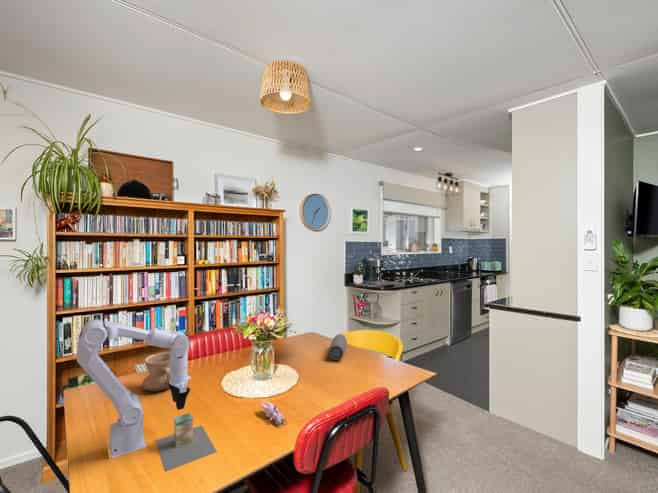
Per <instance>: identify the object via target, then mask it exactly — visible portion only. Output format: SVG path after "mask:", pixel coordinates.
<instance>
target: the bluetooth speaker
mask: <svg viewBox="0 0 658 493" xmlns="http://www.w3.org/2000/svg"><path fill="white" fill-rule="evenodd" d="M347 343H348V342H347V337H346V336H345V335H344V334H342V333H341V334H340V333H338V334H337V335H335V336H334V337H333V339H332V341H331V343H330V346H329V350H328V353H329V354H328V355H329V357H330V358H331V359H332V360H336V361H337V360H340V359H341V358H342V357H343V356H344V354H345V352H346V350H347Z"/></svg>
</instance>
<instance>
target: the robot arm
mask: <svg viewBox="0 0 658 493" xmlns="http://www.w3.org/2000/svg"><path fill="white" fill-rule="evenodd" d="M119 337H121V338H129V339H134V340H139V341H141V340H142V341H145V343H146V344H147V345H149V346H153V347H158V348H164V349H170V352H169V353H170V380H169V382H168V385H169V387H170V388H169V389H170V394H171V398H172V402H173V403H175V407H176V410H177V411H180V410H183V409H184V408H185V406H186V401H187V398H188V396H189V393H190V391H191V388H190V387H187V384H188V382H189V381H190V380H192V376H190V375H188V356H189V355H188V354H189V353H188V348H189V347H190V344H191V343H190V339H189V338H188V336H186V334H185V333H183V332H182V331H178V330H177V331H176V330H173V331H171V330H167V329H164V327H161V326H158V328H157V327H152V329H144V328H140V327H135V326H132V325H128V324H124V323H120V322H116V321H111V320H101V319H95V318H94V319H91V320H89V321H87V322H85V324H84V325H83V326H82V328H81V331H80V332H79V336H78V339H77V350H76V351H77V352H76V362H77V364H79V366H81V368H82V369H83V370H84V371H85V372H86V374H87V375H88V376H89V377H90V378H91V380H93V382H94V383H95V384H96V385H97V386H98V388H99V389H100V390H101V392H103V394H104V395H105V396H106V397H107V398H108V399H109V401H111V402H112V404H113V406H114V408H115V411H116V412H118V413H117V414H119V417H118V419H117V421H116V422H114V423H112V424H110V425H109V443H108V450H109V455H110V459H115V458H116V457H120V456H123V455H126V454H129V453H132V452H136V451H138V450H141V449H145V448H146V440H145V437H144V408H143V406H142V403H141V398H140V396H139V395H138V394H135V393H133V392H132V391H130V390H129V388H126V387H125V385H124V384H123V383H122V381H120V380H119V379H118V377H117V376H116V375H115V373H114V372H113V371H112V370H111V369H110V367H109V366H108V365H107V364H106V363H105V362H104V360H103V358H101V356H100V355H99V353H98V352H99V350H100V347H101V346H102V345H103V344H104V342H105V341H106V339H107V340H108V341H111V340H114V339H116V338H119Z"/></svg>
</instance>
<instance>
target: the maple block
mask: <svg viewBox="0 0 658 493" xmlns="http://www.w3.org/2000/svg"><path fill="white" fill-rule="evenodd" d="M173 422H174V423H173V434H174V442H175V444H176V447H179V446H181V445H184V444H187V443H190V442H193V428H194V417H193V415H192V413H191V412H188V413H185V414H181V415H178V416H174V417H173Z"/></svg>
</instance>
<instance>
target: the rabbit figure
mask: <svg viewBox="0 0 658 493" xmlns="http://www.w3.org/2000/svg"><path fill="white" fill-rule="evenodd" d="M260 404H261V405H260V406H261V407H262V409H263V411H265V415H266V417H268V418H270V419H269V420H270V421H272V420H273V419H274V421H275V424H276V425H278V426H279V427H282V426H283V424H284V423H285V425H288V420H287V419H286V418H285V417H284V415H285V413H284V412H283V413H281V412H279V409H278V406H277V405H274V404H273V403H271V402H270V401H267V402H266V401H265V402H264V403H260Z"/></svg>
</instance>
